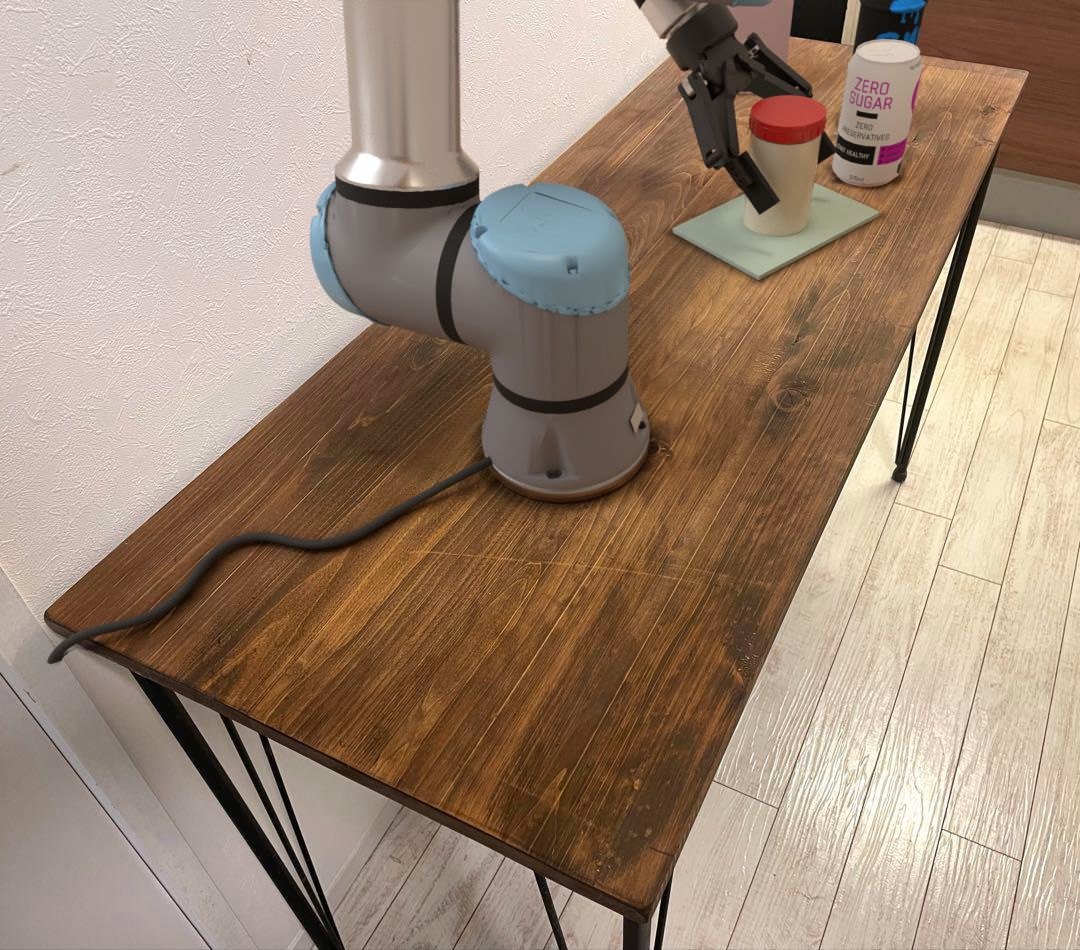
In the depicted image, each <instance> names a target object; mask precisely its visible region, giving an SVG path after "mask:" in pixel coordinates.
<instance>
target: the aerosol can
mask: <svg viewBox="0 0 1080 950" xmlns="http://www.w3.org/2000/svg"><path fill="white" fill-rule="evenodd" d="M859 3H860V5H859V12H858V19H857V23H856V31H855V36H854V41H853V49H852V55H851V58H852V57H853V55H854V54H855V52H856V49H857V48H858V46H859V45H861V44H863V43H865V42H869V41H872V40H881V39H891V40H900V41H905V42H908V43H911V44H914V45H915V46H917V47H918V42H919V37H920V32H921V28H922V22H923V17H924V14H925V8H926V6H927V4H928V3H929V0H859Z"/></svg>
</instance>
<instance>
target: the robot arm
mask: <svg viewBox="0 0 1080 950" xmlns="http://www.w3.org/2000/svg"><path fill="white" fill-rule="evenodd" d="M772 1H773V0H633V2H634V3H635V4H636V5H635V6H637V8H638V9H639V10H640V11H641V13H642V14H643V16H644V17H645V19H646V20H647V22H648V23H649V25H650V26H651V28H652V29H653V31H654V32H655V34H656V36H657V37H658V38H659V40H667V41H666V42H665V46H666V47H665V49H666V51H667V52H668V54H669V55H670V58H672V60H673V61H674V63H675V64H676V65H677V67H678V69H679V70H680V71H681V72H685V73H686V72H688V71H690V73H689V74H688V75H687V76H686V77H684V78H683V79H682V80H681V82H680V83H678V84H677V90H678V92H679V94H680V95H681V98H682V99H683V101H684V102H685V104H686V107H687V110H688V115H689V118H690V121H691V124H692V127H693V131H694V134H695V137H696V141H697V144H698V148H699V151H700V155H701V157H702V158H701V159H702V161H703V164H704V166H705V167H706V168H707V169H711V170H712V169H714V171H720V170H721V169H723V168H724V169H725V170H726V172H727V173H728V175H729V176H730V178H731V179H732V180H733V182H734V184H735V185H736V187H737V188H738V189H739V190H741V191H742V192H743V194H745V195H746V196H747V198H748V199H749V201H750V202H751V204H752V205H753V207H754V208H755V210H756V211H757V212H758V214H759V215H760V214H762V213H764V212H765V211H767V210H768V209H770V208H771V207H773V206H774V205H776V204H777V203H778V202H780V200H779V198H778V197H777V195H776V194H775V192H774V191H773V189H772V188H771V186H770V185H769V183H768V182H767V180H766V179H765V177H764V176H763V174H762V173H761V171H760V170H759V168H758V167H757V165H756V164H755V163H754V161H753V160H752V158H751V157H750V155H749V151H747V150H744V151H743V152H742V153H741V151H740V143H739V142H740V141H739V134H738V133H739V132H738V125H737V117H736V108H735V99H736V97H737V96H738V95H740V94H739V93H740V92H741V91H742V92H752V93H753V94H752V95H755V96H757V97H759V98H761V99H762V100H763V99H765V98H769V97H774V96H782V95H794V96H803V97H808V98H811V99H813V98H814V93H813V86H812V84H811V83H810V82H809V81H808V80H806V79H805V78H804V77H803V76H802V75H801V74H799V73H798V72H797V71H795V69H794V68H793V67H791V66H790V65H789V64H788V63H787V64H786V63H785V62H784V61H783V60H782V59H780V58H779V57H778V56H777V55H776V54H774V53H773V52H772V51H771V50H770V49H769V48H767V47H766V45H765V44H764V43H763V41H762V40H761V39H760V37H759V36H758V35H757V34H756V33H755V32H752V33H751V34H750V35H749V36H748V37H747V38H745V39H744V40H743V41H742V42H741V43H740V42H739V41H738V40H737V39H736V37H735V32H736V31H737V29H738V22H737V21H736V19H735V18H734V16H733V14H732V13H731V11H730V10H729V8H728V7H727V5H728V6H730V7H734V8H735V7H736V6H758V7H762V6H766V5H768V4H769V3H771V2H772ZM342 11H343V12H342V17H343V30H344V31H343V33H344V44H345V45H344V47H345V62H346V72H347V73H346V76H347V90H348V104H349V106H348V108H349V122H350V134H351V145H350V148H349V149H348V150H347V151H346V152H345V154H344V155H343V156H341V158H340V159H339V160H338V161H337V162H336V164H335V165H334V181H333V182H331V183H330V184H329V185H327V187H325V189H324V190H323V191H322V193H321V194H320V196H319V198H318V200H317V202H316V204H315V208H316V210H317V212H318V214H317V215H314V216H312V217H311V220H310V228H309V251H310V257H311V262H312V266H313V269H314V272H315V275H316V278H317V280H318V282H319V284H320V286H321V287H322V290H323V291H324V293H326V295H327V296H328V298H329V299H330V300H332V302H334V303H335V304H336V305H337V306H339V307H340V308H341V309H343V311H346V312H348V313H350V314H353V315H356V316H359V317H363V318H365V319H367V320H368V321H370V322H372V323H375V324H376V325H379V326H384V327H394V328H398V329H403V330H406V331H410V332H414V333H418V334H421V335H424V336H425V335H426V336H429V337H433V338H436V339H441V340H445V341H448V342H452V343H456V344H461V345H464V346H467V347H471V348H475V349H479V350H482V351H486V352H487V353H488V354H489V361H490V365H491V370H492V380H493V385H492V388H491V392H490V397H489V400H488V405H487V409H486V414H485V416H484V419H483V422H482V426H481V427H482V430H481V446H482V451H483V459H481V460H479V461H477V462H475V463H474V464H471V465H470V466H468V467H466V468H464V469H462V470H460V471H459V472H456V473H455V474H452V475H451V476H449V477H447V478H445V479H443V480H441V481H440V482H437V483H436V484H435V485H433V486H431V487H429V488H427V489H425V490H424V491H422V492H420V493H418V494H417V495H415V496H413V497H411V498H409V499H407V500H405V501H404V502H402V503H399V504H398V505H396V506H395V507H393V508H391V509H389V510H387V511H386V512H385V513H382V514H381V515H379V516H378V517H376V518H375V519H373V520H371V521H370V522H367V523H366V524H363V526H360V527H358V528H356V529H354V530H352V531H349V532H347V533H344V534H341V535H337V536H334V537H333V536H332V537H329V538H322V539H307V538H300V537H293V536H290V535H286V534H285V535H284V534H280V533H275V532H267V531H254V532H253V531H252V532H248V533H243V534H240V535H237V536H236V535H235V536H233V537H231V538H229V539H227V540H225V541H223V542H221V543H220V544H218V545H216V546H215V547H214V548H213V549H211V550H209V552H208V553H207V554H206V555H205V556H204V557H203V558H202V559H201V561H199V563H197V565H196V566H195V568H194V569H193V571H192V572H191V573H190V575H189V576H188V577H187V579H186V580H185V581H184V582H183V583H182V584H181V585H180V587H179V588H178V589H177V590H176V591H175V592H174V593H173V594H172V595H171V596H170V597H169V598H167V599H166V600H164V601H163V602H162V603H160V604H159V605H157V606H155V607H153V608H151V609H150V610H147V611H145V612H143V613H140V614H137V615H135V616H132V617H128V618H127V617H126V618H123V619H119V620H115V621H112V622H111V621H110V622H106V623H103V624H99V625H95V626H91V627H88V628H85V629H82V630H79V631H77V632H75V633H73V634H71V635H69V636H67V637H66V638H65V639H63V640H62V641H61V642H60V643H59V644H58V645H57V646H55V648H53V650H52V651H51V652H50V654H49V656H48V657H47V660H46V662H47V664H49V665H52V664H55V663H57V662H58V661H59V660H60V659H61V658H62V657H63V655H64V654H65V653H66V652H67V651H68V650H70V648H72V647H74V646H75V645H77V644H79V643H81V642H83V641H86V640H88V639H92V638H94V637H98V636H99V637H100V636H102V635H106V634H107V635H108V634H111V633H115V632H119V631H123V630H128V629H131V628H134V627H138V626H141V625H145V624H146V623H148V622H151V621H154V620H155V619H157V618H159V617H161V616H163V615H164V614H166V613H167V612H169V611H170V610H172V609H173V608H174V607H176V606H177V605H178V604H179V603H180V602H181V601H182V600H183V599H184V598H185V597H186V596H187V595H188V594H189V593H190V591H192V590H193V588H194V587H195V585H196V584H197V583H198V582H199V580H200V579H201V577H202V576H203V575H204V574H205V572H206V571H207V570H208V569H209V567H211V565H212V564H213V563H214V562H215V561H216V560H217V559H218V558H219V557H220V556H222V555H223V554H224V553H226V552H228V551H229V550H231V549H233V548H236V547H238V546H240V545H244V544H246V543H252V542H268V543H275V544H279V545H284V546H288V547H294V548H298V549H304V550H305V549H307V550H323V549H329V548H334V547H338V546H342V545H345V544H348V543H351V542H354V541H356V540H358V539H360V538H363V537H364V536H366V535H368V534H370V533H372V532H374V531H376V530H377V529H379V528H381V527H382V526H384V525H386V524H387V523H388V522H390V521H392V520H394V519H395V518H396V517H398V516H400V515H402V514H404V513H405V512H407V511H410V510H411V509H413V508H415V507H417V506H419V505H420V504H423V503H424V502H426V501H428V500H430V499H432V498H433V497H435V496H437V495H438V494H440V493H442V492H444V491H445V490H447V489H449V488H451V487H452V486H455V485H456V484H458V483H460V482H462V481H464V480H466V479H468V478H470V477H472V476H473V475H475V474H478V473H479V472H481V471H483V470H484V469H486V468H488V470H489V471H490V473H491V474H492V475H493V477H494V478H495V479H496V480H497V481H498V482H499V483H500V484H502V485H503V486H504V487H506V488H507V489H508V490H511V491H513V492H514V493H517V494H518V495H521V496H523V497H527V498H529V499H534V500H537V501H542V502H548V503H549V502H550V503H573V502H582V501H586V500H591V499H594V498H598V497H601V496H603V495H606V494H608V493H610V492H613V491H615V490H616V489H618V488H620V487H622V486H623V485H625V484H626V483H627V482H629V481H630V480H631V479H632V478H633V477H634V476H635V475H636V474H637V473H638V472H639V471H640V470H641V468H642V466H643V465H644V463H645V461H646V459H647V457H648V454H649V452H650V451H649V450H650V436H651V435H650V434H651V433H650V429H651V428H650V421H649V417H648V414H647V411H646V408H645V406H644V404H643V402H642V399H641V397H640V394H639V392H638V390H637V388H636V385H635V383H634V379H633V378H632V375H631V373H630V371H629V370H630V361H629V359H630V358H629V357H630V349H629V348H630V285H631V280H632V279H631V278H632V277H631V265H630V263H629V256H628V246H627V237H626V233H625V230H624V226H623V224H622V223H621V222H620V221H619V220H618V217H617V213H615V212H614V211H613V209H612V208H611V207H610V206H609V205H607V204H606V203H605V202H603V201H602V200H601V199H600V198H598V197H596V196H595V195H593V194H591V193H590V192H587V191H584V190H582V189H580V188H577V187H573V186H570V185H566V184H561V183H555V182H544V181H543V182H542V181H538V182H537V181H536V182H535V181H534V183H533V185H531V186H529V185H528V186H527V185H525V184H523V183H516V184H512V185H508V186H505V187H502V188H500V189H497V190H496V191H493V192H492V193H489V194H488V195H487V196H485V197H484V198H483V200H481V199H480V173H481V172H480V167H479V165H478V164H477V163H476V162H475V161H474V160H473V159H472V158H471V157H470V156H469V154H468V153H467V152H466V151H465V150H464V148H463V147H462V142H461V141H462V140H461V139H462V137H461V135H462V134H461V133H462V130H461V129H462V128H461V127H462V126H461V121H462V120H461V119H462V115H461V111H462V110H461V0H342ZM756 55H757V56H756ZM751 72H752V73H751ZM713 150H714V151H713ZM837 151H838V150H837V149H836V147H835V143H833V141H832V140H831V138H830V136H829V135H828V133H827V132H826V131H825V130H824V131H823V133H822V135H821V142H820V149H819V156H818V162H817V166H818V165H820V164H821V163H823V162H824V161H826V160H827V159H828V158H830V157H832V156H834V154H835V153H836V152H837Z"/></svg>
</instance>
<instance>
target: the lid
mask: <svg viewBox="0 0 1080 950" xmlns="http://www.w3.org/2000/svg"><path fill="white" fill-rule="evenodd" d="M827 113H828V112H827V108H826V106H825V105H824V104H823V103H822V102H820V101H819V100H816V99H814V98H808V97H803V96H794V95H782V96H774V97H769V98H765V99H763V98H762V99H760V100H758V101H757V102H755V103H754V104H753V105H752V107H751V108H750V113H749V119H748V129H749V131H750V133H752V134H753V135H755V136H756V137H758V138H760V139H762V140H765V141H769V142H773V143H780V144H795V143H802V142H806V141H810V140H812V139H815V138H817V137H819V136H820V135H821V134H822V133H823V131H825V129H826V125H827Z"/></svg>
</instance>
